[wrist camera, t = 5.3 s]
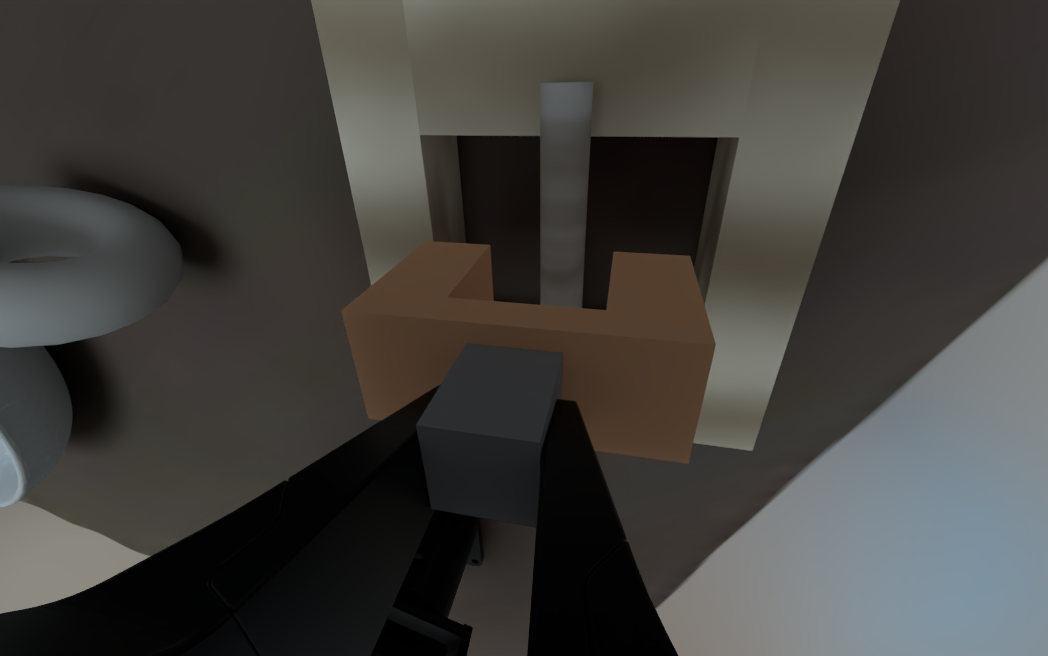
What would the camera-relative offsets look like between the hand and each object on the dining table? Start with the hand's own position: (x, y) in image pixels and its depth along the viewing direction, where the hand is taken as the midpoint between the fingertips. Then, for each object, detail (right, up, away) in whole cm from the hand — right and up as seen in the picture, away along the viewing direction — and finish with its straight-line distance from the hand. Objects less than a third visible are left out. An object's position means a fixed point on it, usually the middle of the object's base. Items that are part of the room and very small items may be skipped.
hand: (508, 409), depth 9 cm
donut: (-20, +7, +15) cm, 26 cm away
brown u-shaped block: (+1, +3, +4) cm, 5 cm away
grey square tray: (+3, +6, +10) cm, 12 cm away
